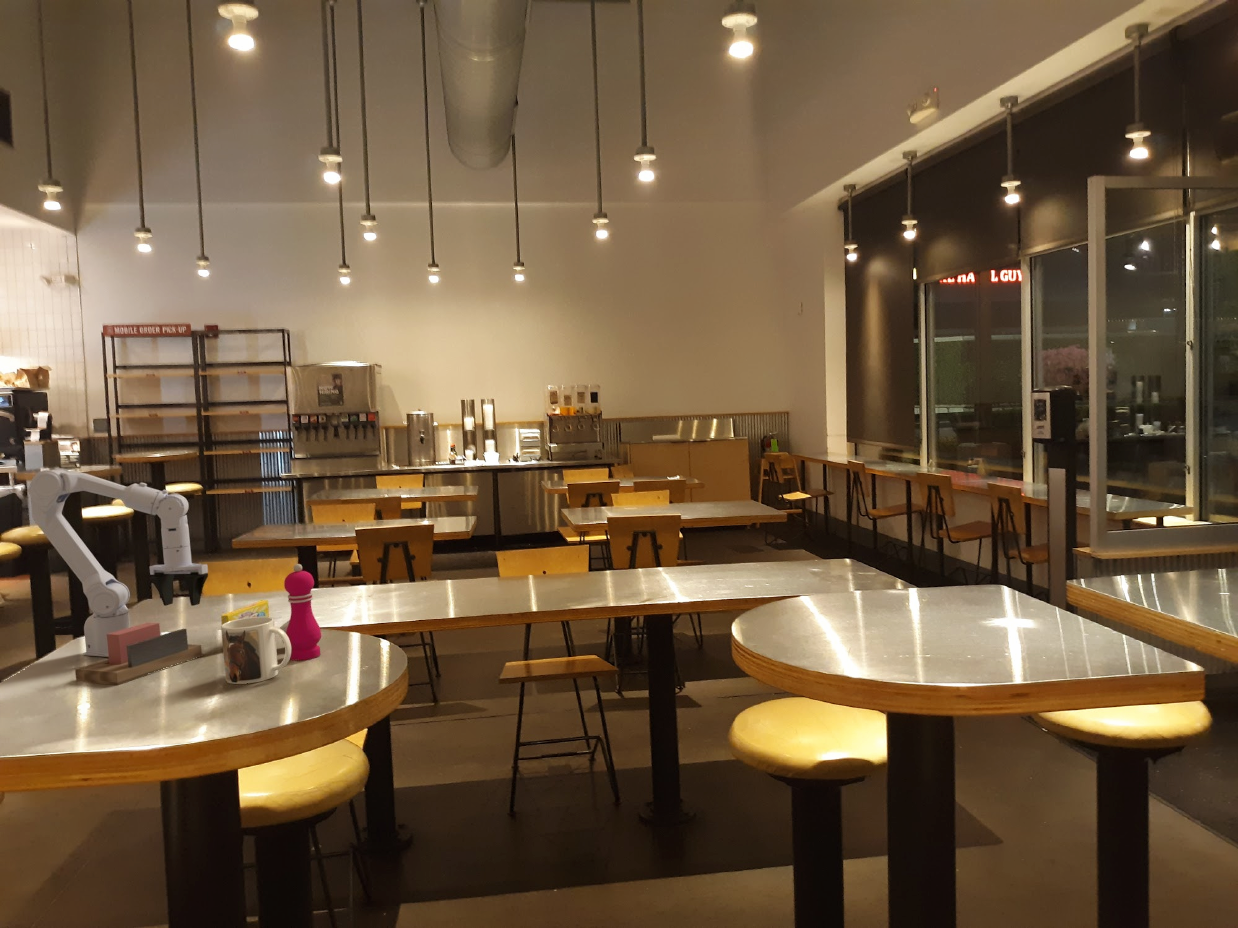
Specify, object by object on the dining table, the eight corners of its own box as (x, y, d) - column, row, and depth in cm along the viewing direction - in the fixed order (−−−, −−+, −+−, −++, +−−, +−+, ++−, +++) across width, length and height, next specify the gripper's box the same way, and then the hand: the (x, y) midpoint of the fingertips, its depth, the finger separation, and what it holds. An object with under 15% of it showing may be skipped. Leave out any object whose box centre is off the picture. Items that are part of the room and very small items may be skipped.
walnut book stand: (76, 681, 192) (75, 669, 192) (162, 653, 211) (161, 642, 211) (117, 684, 187) (116, 672, 187) (202, 656, 206) (201, 645, 206)
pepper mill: (329, 652, 203) (322, 560, 202) (308, 661, 196) (300, 567, 195) (302, 651, 205) (294, 560, 204) (280, 660, 198) (272, 567, 197)
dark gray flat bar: (128, 667, 190) (126, 645, 190) (184, 649, 203) (182, 628, 203) (132, 667, 190) (129, 645, 190) (188, 649, 203) (186, 628, 203)
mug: (269, 666, 194) (264, 613, 194) (295, 675, 186) (290, 620, 185) (217, 678, 187) (212, 624, 186) (242, 689, 179) (237, 632, 178)
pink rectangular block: (110, 671, 196) (106, 634, 195) (150, 658, 205) (147, 622, 204) (122, 672, 194) (118, 634, 194) (162, 659, 203) (159, 623, 203)
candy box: (230, 651, 209) (227, 615, 209) (222, 651, 210) (218, 615, 209) (271, 633, 225) (268, 599, 225) (263, 633, 226) (260, 599, 225)
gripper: (137, 549, 215) (143, 608, 216) (190, 548, 211) (195, 608, 212) (160, 544, 222) (165, 601, 223) (212, 543, 218) (217, 601, 219)
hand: (181, 604), depth 218 cm, fingers open, 7 cm apart
